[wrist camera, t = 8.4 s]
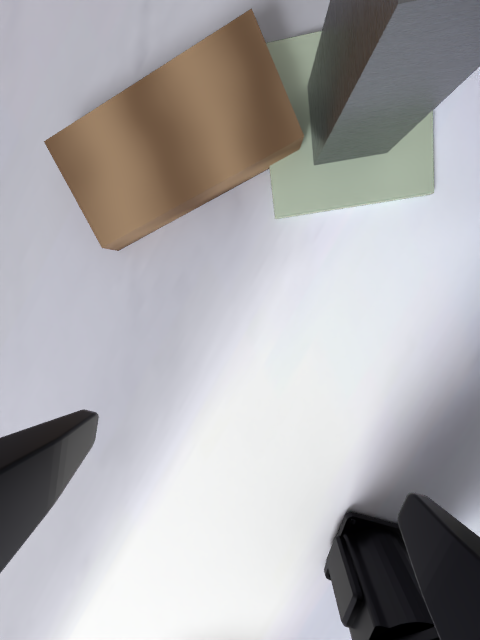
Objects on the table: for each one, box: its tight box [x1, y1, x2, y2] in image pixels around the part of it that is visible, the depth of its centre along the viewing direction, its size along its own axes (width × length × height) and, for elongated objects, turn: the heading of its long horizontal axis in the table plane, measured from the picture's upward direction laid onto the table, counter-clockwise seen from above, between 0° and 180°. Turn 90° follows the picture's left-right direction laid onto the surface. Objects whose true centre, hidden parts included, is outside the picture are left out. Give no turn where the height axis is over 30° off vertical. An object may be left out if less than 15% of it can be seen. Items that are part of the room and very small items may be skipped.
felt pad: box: [266, 31, 434, 219], centre depth 16 cm, size 10×10×1 cm
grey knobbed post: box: [307, 0, 480, 165], centre depth 11 cm, size 4×4×11 cm
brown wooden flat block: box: [44, 9, 304, 251], centre depth 16 cm, size 14×7×2 cm, turn 116°
